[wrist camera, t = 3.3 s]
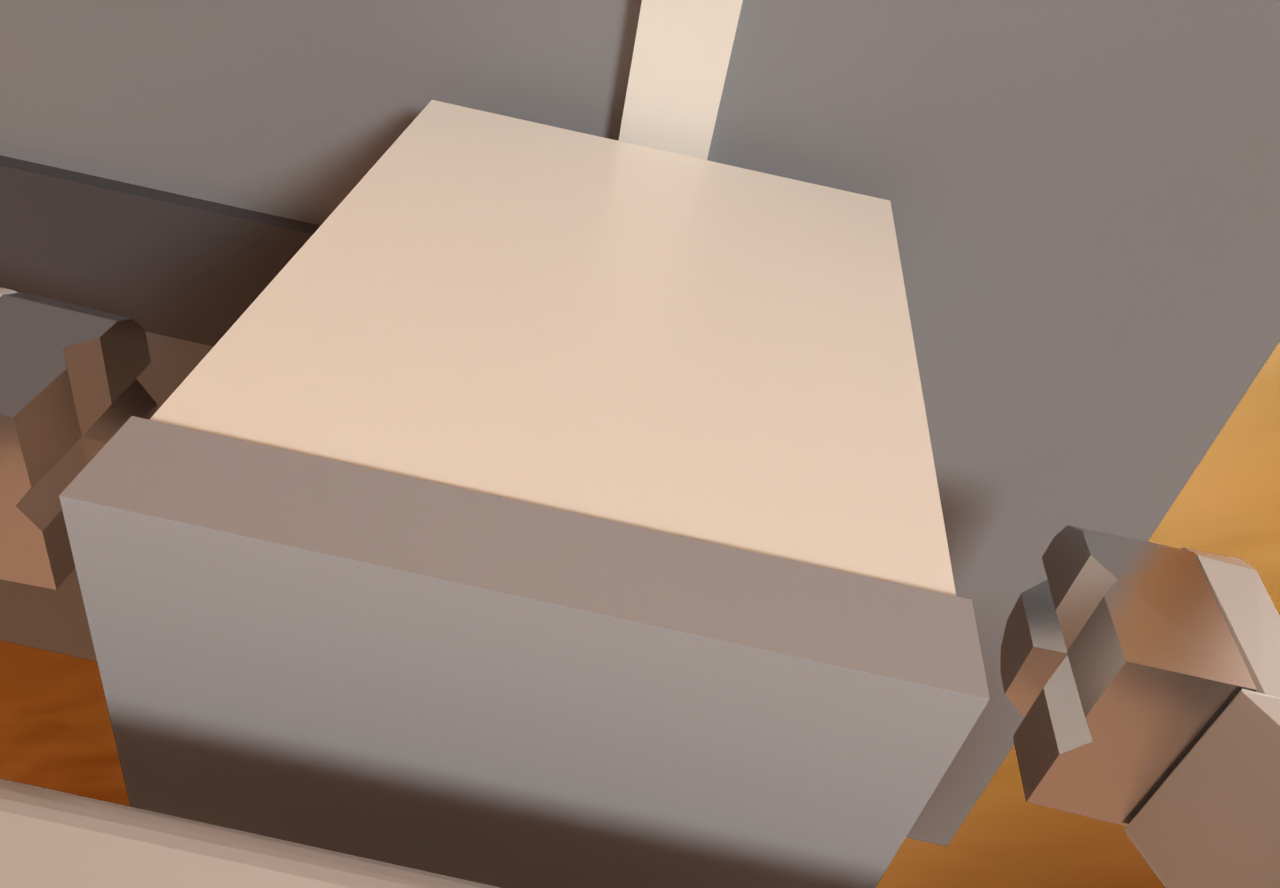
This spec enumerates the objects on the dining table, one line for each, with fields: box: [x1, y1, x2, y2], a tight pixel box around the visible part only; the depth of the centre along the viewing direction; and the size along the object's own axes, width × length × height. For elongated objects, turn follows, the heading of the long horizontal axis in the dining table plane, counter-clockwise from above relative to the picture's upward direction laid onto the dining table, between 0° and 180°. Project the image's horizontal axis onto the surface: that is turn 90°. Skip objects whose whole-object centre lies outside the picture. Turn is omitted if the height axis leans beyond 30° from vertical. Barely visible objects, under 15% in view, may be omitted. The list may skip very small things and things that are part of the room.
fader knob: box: [59, 100, 990, 888], centre depth 8 cm, size 4×5×5 cm
